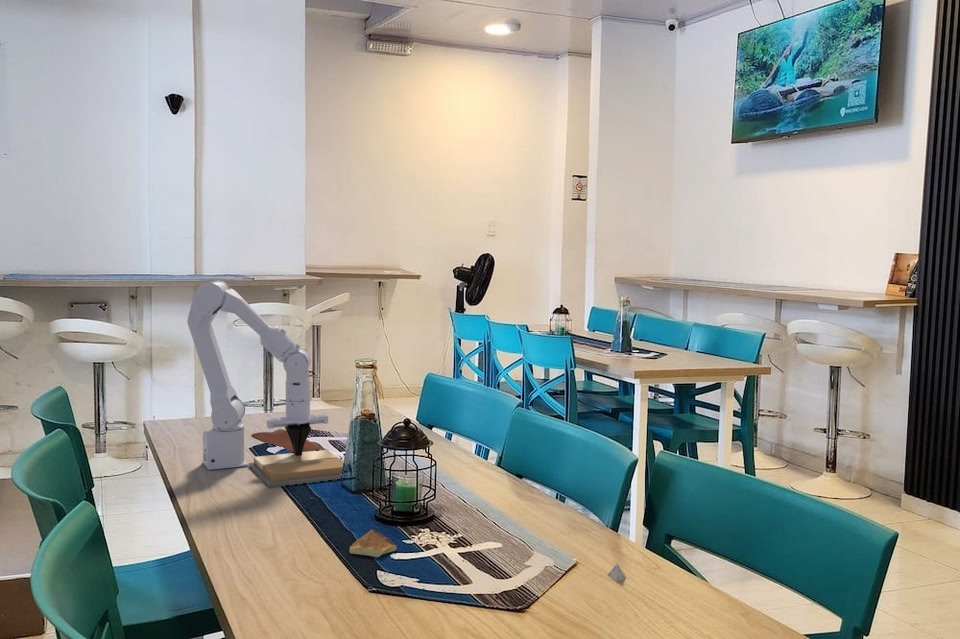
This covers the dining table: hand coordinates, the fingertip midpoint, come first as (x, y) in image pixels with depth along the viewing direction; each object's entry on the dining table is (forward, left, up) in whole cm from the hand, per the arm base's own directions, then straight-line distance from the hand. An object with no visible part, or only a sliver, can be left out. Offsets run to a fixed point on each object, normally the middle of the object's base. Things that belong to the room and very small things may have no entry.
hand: (298, 454), depth 213 cm
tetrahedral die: (+28, -90, -3) cm, 94 cm away
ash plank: (-1, -2, -1) cm, 3 cm away
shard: (-4, -59, -3) cm, 60 cm away
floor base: (-1, -6, -2) cm, 7 cm away
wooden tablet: (+4, +23, -3) cm, 23 cm away
